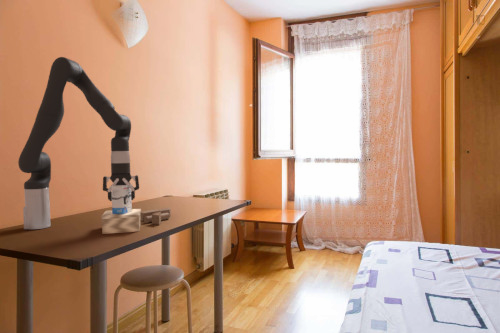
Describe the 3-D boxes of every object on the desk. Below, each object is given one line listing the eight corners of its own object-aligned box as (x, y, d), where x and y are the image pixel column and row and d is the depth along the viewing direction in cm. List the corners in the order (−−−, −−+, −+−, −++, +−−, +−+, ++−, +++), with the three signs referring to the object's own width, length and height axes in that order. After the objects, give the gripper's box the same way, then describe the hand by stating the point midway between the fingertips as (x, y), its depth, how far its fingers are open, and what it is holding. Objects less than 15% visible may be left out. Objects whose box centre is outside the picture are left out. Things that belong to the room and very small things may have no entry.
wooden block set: (135, 210, 161) (167, 205, 174) (136, 222, 161) (168, 216, 175) (156, 213, 150) (189, 208, 163) (157, 226, 150) (189, 220, 164)
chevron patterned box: (101, 234, 136) (100, 216, 136) (106, 226, 150) (105, 210, 150) (139, 231, 140) (139, 214, 139) (141, 224, 154) (140, 208, 154)
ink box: (123, 214, 140) (122, 185, 139) (111, 214, 141) (110, 185, 140) (132, 210, 148) (131, 183, 148) (121, 210, 149) (120, 183, 148)
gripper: (100, 162, 138) (102, 202, 139) (137, 161, 142) (139, 200, 143) (103, 162, 145) (104, 200, 146) (138, 161, 149) (139, 198, 150)
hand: (121, 200), depth 144 cm, fingers open, 8 cm apart
